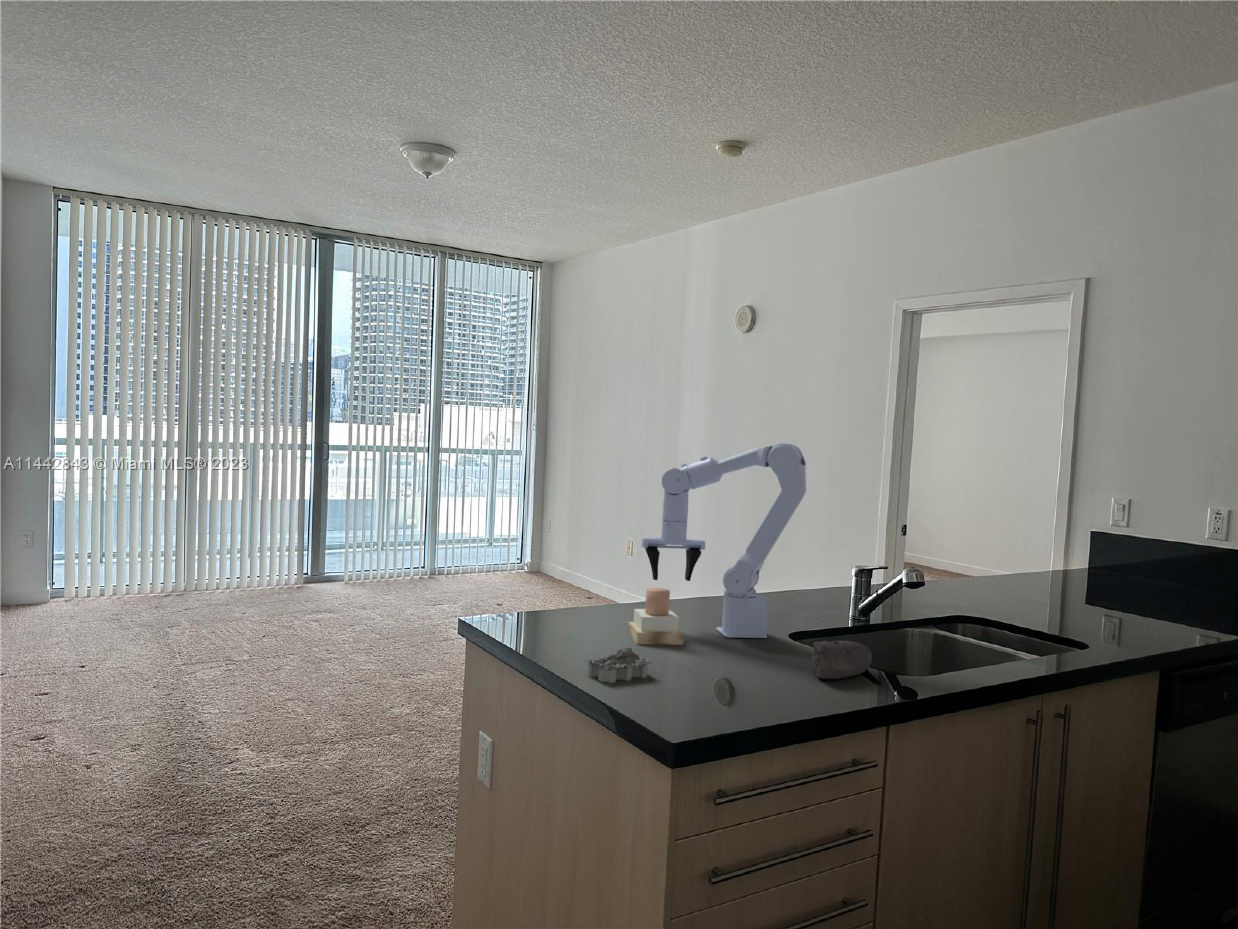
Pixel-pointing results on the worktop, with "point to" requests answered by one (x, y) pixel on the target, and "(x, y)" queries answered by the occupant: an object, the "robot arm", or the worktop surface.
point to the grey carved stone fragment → (618, 666)
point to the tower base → (655, 636)
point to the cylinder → (657, 601)
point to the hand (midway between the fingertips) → (671, 579)
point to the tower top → (656, 621)
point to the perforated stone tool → (840, 659)
